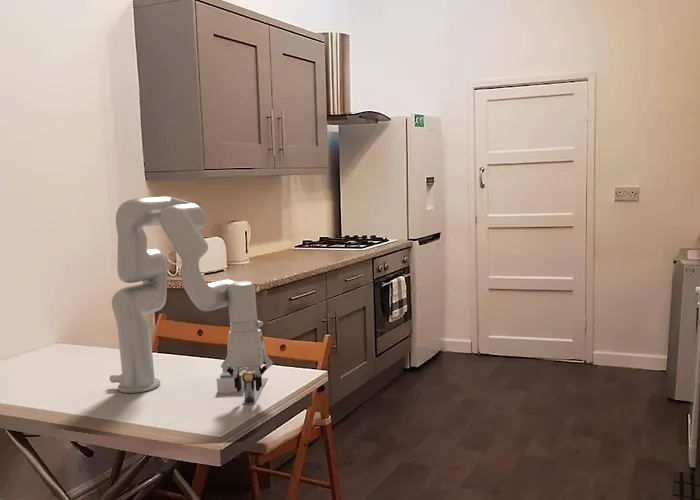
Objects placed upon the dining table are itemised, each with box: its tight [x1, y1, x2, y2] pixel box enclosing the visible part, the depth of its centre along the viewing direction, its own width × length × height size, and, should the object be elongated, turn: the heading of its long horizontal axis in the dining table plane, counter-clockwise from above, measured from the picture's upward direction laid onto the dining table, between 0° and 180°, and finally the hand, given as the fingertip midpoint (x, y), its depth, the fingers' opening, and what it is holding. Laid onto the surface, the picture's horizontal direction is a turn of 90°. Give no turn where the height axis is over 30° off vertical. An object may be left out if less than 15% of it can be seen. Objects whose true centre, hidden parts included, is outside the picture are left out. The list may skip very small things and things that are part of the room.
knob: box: [242, 371, 255, 402], centre depth 195 cm, size 4×4×8 cm
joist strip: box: [241, 377, 268, 406], centre depth 205 cm, size 4×24×1 cm, turn 178°
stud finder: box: [216, 371, 245, 394], centre depth 208 cm, size 8×4×5 cm, turn 88°
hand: (248, 389), depth 195 cm, fingers open, 4 cm apart
